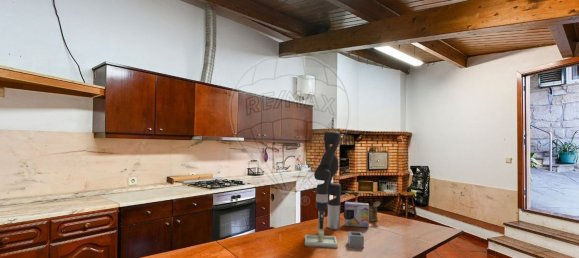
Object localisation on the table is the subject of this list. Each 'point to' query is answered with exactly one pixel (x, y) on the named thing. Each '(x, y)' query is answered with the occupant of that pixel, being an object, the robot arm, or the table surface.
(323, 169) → the robot arm
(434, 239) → the table surface
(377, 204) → the wooden mug
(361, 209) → the cake pan box
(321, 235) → the birch peg
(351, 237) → the grey cup
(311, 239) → the sage tray
